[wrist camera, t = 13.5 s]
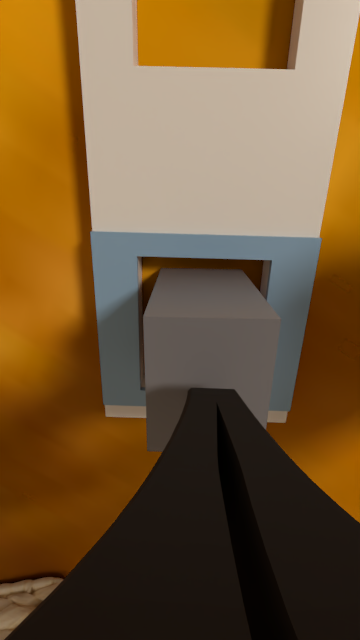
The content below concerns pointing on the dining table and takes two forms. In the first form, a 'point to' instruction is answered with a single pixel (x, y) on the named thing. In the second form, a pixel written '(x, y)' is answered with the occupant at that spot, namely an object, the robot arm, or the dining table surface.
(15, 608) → the storage basket
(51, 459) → the dining table surface
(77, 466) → the dining table surface
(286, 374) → the two-tone slotted frame
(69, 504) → the dining table surface
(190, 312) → the plug
